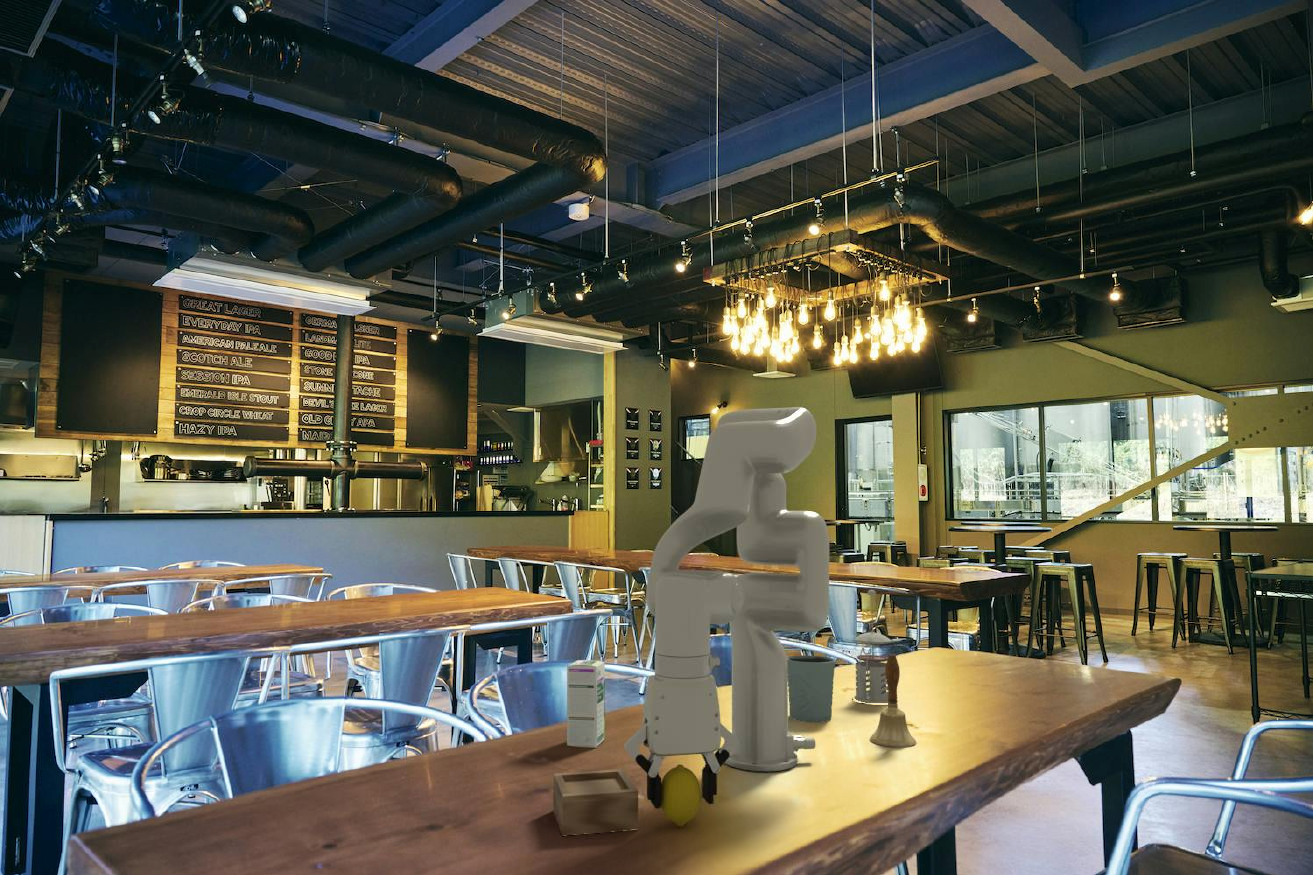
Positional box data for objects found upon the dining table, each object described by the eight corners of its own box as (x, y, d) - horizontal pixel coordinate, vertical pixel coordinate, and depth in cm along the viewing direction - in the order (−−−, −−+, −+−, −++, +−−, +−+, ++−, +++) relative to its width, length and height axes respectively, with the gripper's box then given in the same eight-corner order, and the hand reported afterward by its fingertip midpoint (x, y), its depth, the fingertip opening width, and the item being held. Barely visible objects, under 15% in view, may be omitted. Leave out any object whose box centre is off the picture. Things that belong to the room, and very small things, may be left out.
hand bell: (924, 741, 155) (922, 654, 157) (903, 750, 149) (901, 659, 151) (883, 733, 161) (881, 649, 163) (861, 741, 155) (860, 654, 157)
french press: (901, 699, 191) (899, 589, 194) (886, 709, 182) (883, 592, 184) (859, 694, 197) (858, 587, 199) (842, 703, 187) (841, 590, 189)
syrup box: (596, 748, 149) (598, 665, 151) (565, 746, 150) (566, 664, 152) (605, 740, 155) (606, 660, 156) (574, 738, 156) (575, 658, 157)
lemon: (657, 819, 114) (657, 759, 115) (697, 818, 114) (697, 758, 115) (661, 834, 109) (661, 771, 109) (703, 833, 109) (703, 770, 110)
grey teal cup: (781, 720, 171) (780, 660, 172) (792, 709, 180) (791, 653, 182) (830, 725, 167) (830, 663, 168) (839, 714, 177) (838, 656, 178)
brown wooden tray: (622, 804, 120) (623, 768, 120) (638, 830, 110) (638, 790, 110) (553, 810, 117) (553, 773, 118) (562, 836, 108) (563, 796, 108)
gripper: (733, 659, 119) (734, 789, 117) (614, 664, 115) (613, 798, 113) (752, 669, 112) (752, 807, 110) (625, 674, 108) (624, 817, 106)
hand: (681, 801), depth 112 cm, fingers open, 6 cm apart
